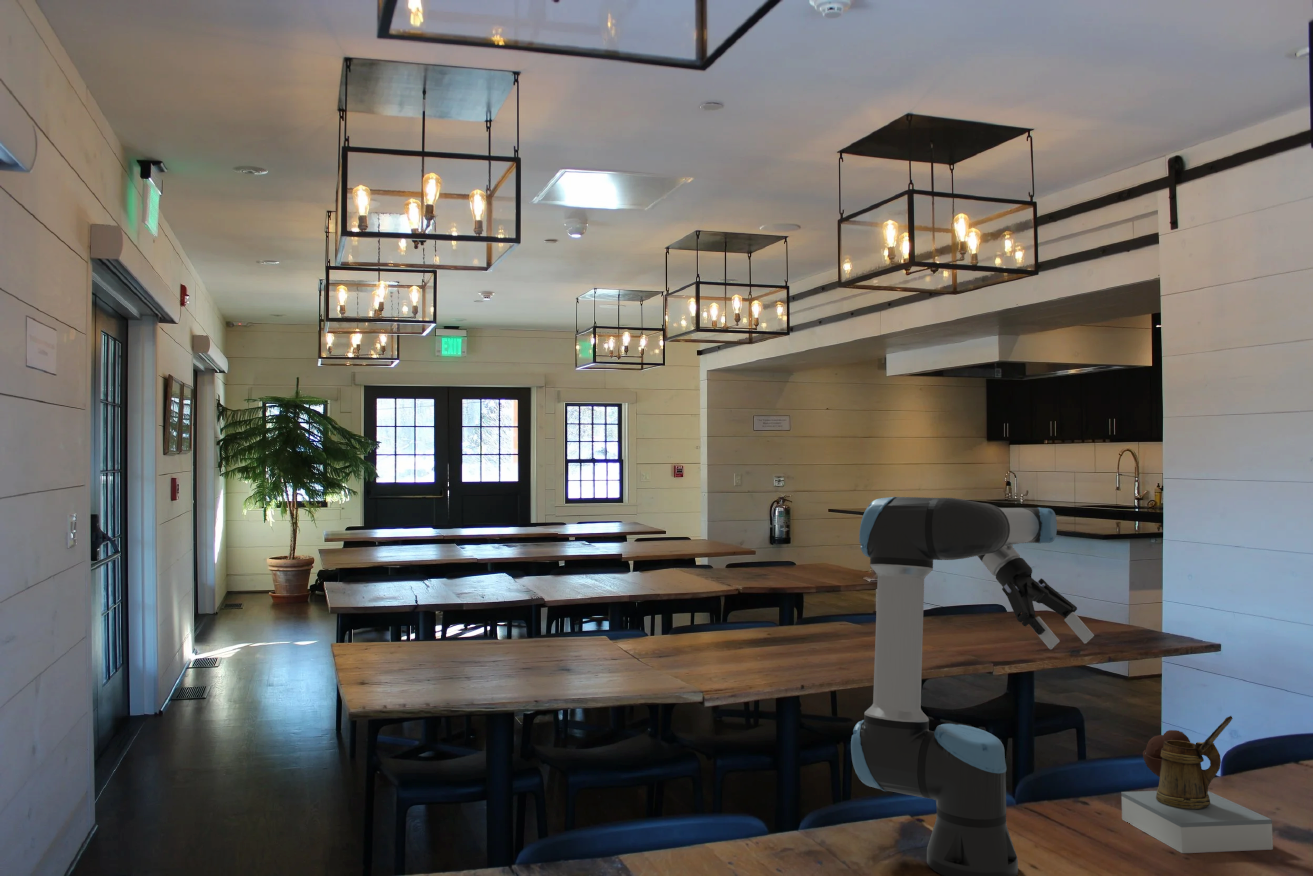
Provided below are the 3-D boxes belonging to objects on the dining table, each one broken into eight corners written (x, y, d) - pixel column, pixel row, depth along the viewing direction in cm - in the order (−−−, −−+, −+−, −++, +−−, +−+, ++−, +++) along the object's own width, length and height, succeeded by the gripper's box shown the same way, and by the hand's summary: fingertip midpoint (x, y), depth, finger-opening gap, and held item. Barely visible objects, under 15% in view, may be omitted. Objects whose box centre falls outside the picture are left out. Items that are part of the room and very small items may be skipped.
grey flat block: (1182, 853, 171) (1181, 823, 171) (1122, 819, 189) (1121, 792, 189) (1272, 849, 173) (1271, 819, 173) (1205, 816, 191) (1204, 789, 191)
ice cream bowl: (1202, 797, 203) (1200, 727, 204) (1200, 812, 193) (1197, 738, 194) (1147, 789, 208) (1145, 720, 209) (1142, 803, 199) (1140, 731, 200)
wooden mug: (1230, 819, 174) (1226, 719, 175) (1150, 802, 183) (1147, 708, 184) (1241, 807, 180) (1237, 712, 181) (1163, 792, 189) (1160, 701, 190)
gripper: (985, 557, 204) (1051, 636, 191) (1049, 554, 219) (1114, 626, 206) (964, 580, 208) (1028, 659, 195) (1028, 575, 223) (1091, 647, 210)
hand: (1072, 642), depth 200 cm, fingers open, 13 cm apart
